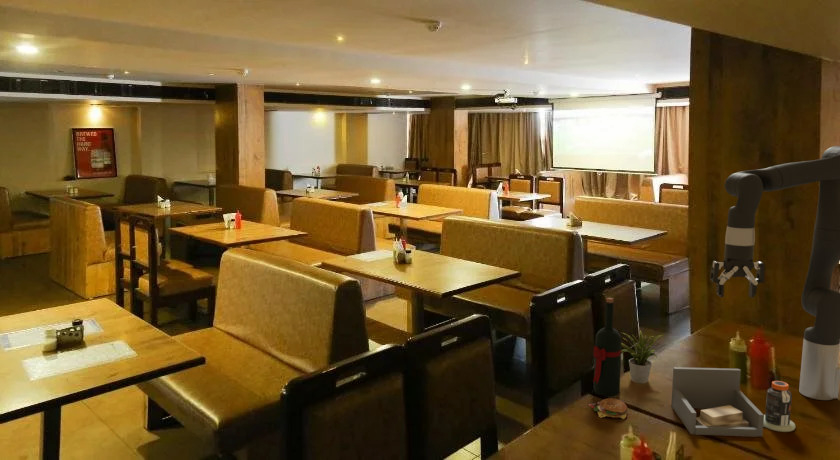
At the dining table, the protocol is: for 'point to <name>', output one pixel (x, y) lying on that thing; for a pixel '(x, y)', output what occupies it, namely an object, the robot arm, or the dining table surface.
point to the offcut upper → (721, 415)
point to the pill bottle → (778, 404)
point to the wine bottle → (607, 356)
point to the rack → (713, 399)
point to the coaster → (779, 428)
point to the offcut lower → (734, 424)
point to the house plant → (640, 358)
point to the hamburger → (611, 408)
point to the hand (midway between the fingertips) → (735, 296)
